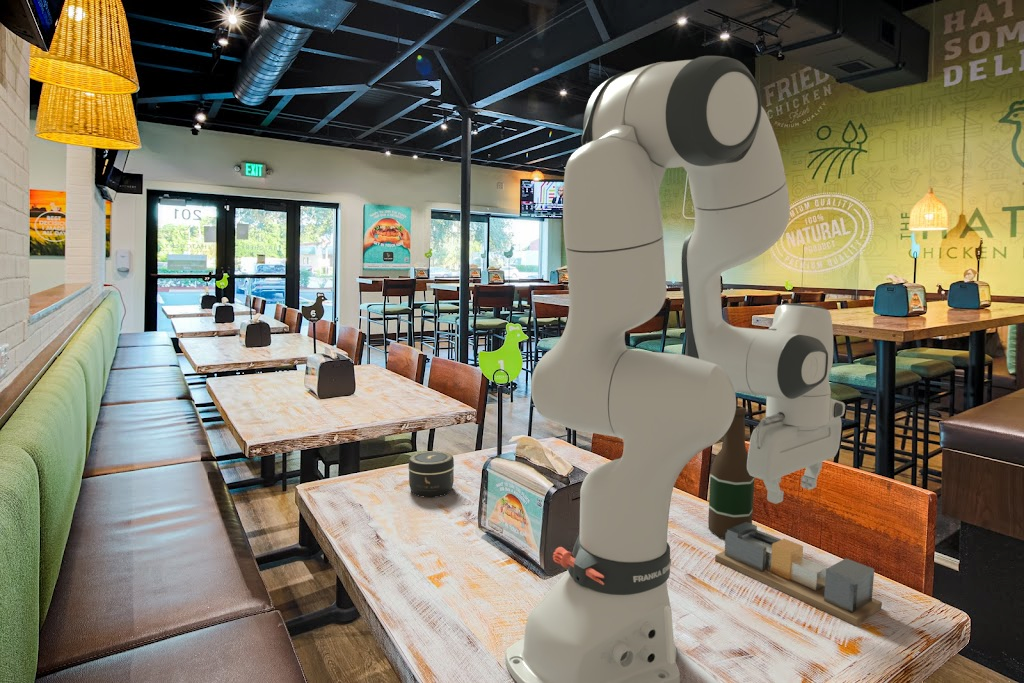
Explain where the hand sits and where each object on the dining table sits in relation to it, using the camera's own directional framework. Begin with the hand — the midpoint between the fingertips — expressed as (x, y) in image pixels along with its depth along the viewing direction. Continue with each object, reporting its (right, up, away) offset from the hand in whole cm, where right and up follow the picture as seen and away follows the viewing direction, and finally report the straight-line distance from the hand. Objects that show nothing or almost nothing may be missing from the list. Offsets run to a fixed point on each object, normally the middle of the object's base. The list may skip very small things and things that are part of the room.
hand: (792, 494), depth 95 cm
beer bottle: (-3, -12, +19) cm, 23 cm away
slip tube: (-1, -13, +2) cm, 13 cm away
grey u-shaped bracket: (-4, -13, +6) cm, 15 cm away
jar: (-62, -9, +40) cm, 74 cm away
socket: (+5, -15, -6) cm, 17 cm away
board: (0, -14, 0) cm, 14 cm away
